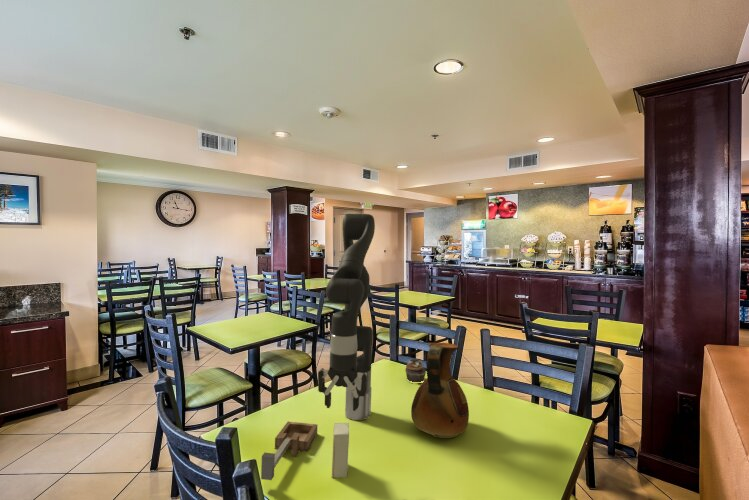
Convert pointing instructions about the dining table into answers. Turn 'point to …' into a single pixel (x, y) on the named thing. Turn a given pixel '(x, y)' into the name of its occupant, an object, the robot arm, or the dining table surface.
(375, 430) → the dining table surface
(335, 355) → the robot arm
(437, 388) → the ceramic pitcher
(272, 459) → the pin
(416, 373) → the cupcake
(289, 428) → the dock
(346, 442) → the skincare box
